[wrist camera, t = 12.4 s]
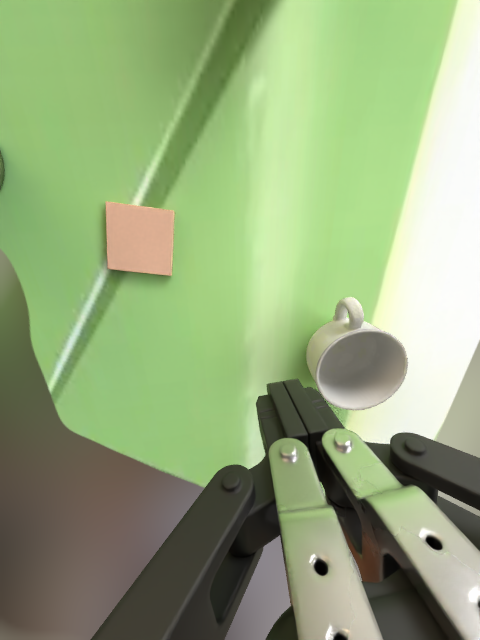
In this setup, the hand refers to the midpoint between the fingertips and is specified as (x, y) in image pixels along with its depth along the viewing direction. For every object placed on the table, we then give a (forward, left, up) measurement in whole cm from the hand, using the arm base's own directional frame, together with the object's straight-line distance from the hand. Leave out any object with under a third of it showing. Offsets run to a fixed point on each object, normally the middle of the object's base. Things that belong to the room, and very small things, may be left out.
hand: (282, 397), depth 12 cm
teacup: (+15, -1, -23) cm, 27 cm away
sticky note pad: (-14, +3, -22) cm, 27 cm away
